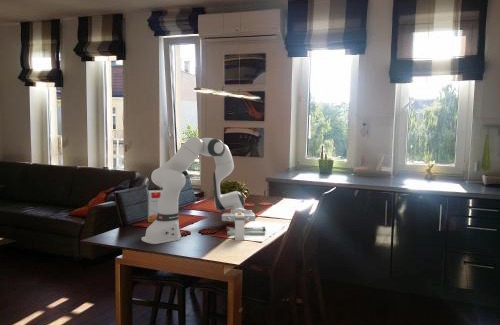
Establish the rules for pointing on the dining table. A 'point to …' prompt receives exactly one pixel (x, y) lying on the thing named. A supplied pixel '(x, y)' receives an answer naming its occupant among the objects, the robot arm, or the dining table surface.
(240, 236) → the block
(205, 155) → the robot arm
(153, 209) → the hard drive box
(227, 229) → the rail
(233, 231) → the mounting board
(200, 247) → the dining table surface
